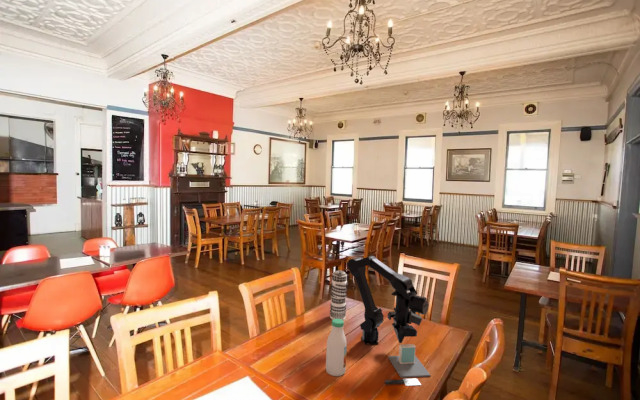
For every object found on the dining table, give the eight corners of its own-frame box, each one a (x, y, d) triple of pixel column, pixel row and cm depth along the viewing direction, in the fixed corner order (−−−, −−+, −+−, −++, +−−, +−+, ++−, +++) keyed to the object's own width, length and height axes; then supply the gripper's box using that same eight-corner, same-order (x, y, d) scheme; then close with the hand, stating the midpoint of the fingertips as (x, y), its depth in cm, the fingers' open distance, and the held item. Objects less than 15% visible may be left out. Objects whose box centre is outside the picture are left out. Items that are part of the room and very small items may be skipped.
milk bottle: (339, 379, 121) (342, 327, 120) (321, 372, 125) (324, 321, 124) (348, 369, 127) (351, 319, 126) (331, 362, 132) (334, 314, 130)
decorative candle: (349, 317, 176) (352, 271, 174) (339, 322, 169) (341, 275, 167) (336, 312, 182) (338, 268, 180) (325, 317, 174) (327, 271, 173)
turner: (387, 387, 118) (387, 384, 118) (383, 380, 122) (383, 377, 122) (421, 385, 119) (421, 383, 119) (416, 378, 123) (416, 376, 123)
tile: (400, 363, 132) (401, 347, 131) (398, 361, 134) (399, 344, 133) (414, 363, 133) (415, 346, 132) (412, 360, 135) (413, 344, 134)
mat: (400, 377, 124) (400, 376, 123) (388, 357, 137) (388, 356, 137) (430, 376, 125) (430, 374, 125) (415, 356, 139) (415, 355, 139)
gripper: (430, 316, 131) (428, 353, 132) (411, 298, 149) (409, 331, 151) (404, 316, 130) (401, 354, 131) (388, 299, 148) (386, 332, 149)
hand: (400, 342), depth 140 cm, fingers closed
